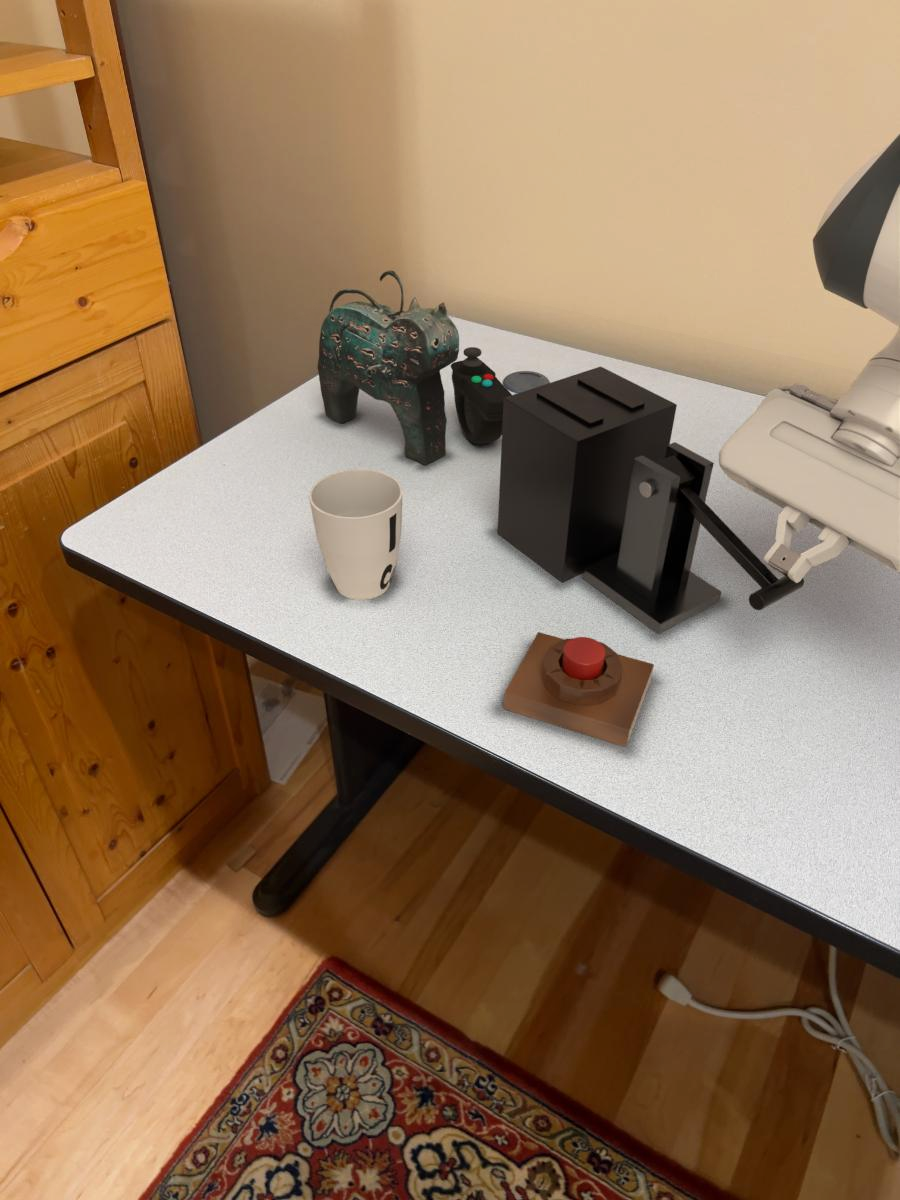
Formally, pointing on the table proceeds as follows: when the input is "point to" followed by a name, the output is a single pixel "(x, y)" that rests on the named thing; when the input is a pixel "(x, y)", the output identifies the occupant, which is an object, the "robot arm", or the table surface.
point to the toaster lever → (730, 541)
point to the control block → (579, 692)
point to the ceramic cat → (389, 366)
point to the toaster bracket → (658, 547)
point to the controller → (478, 398)
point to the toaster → (575, 465)
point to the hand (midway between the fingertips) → (779, 572)
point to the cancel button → (583, 658)
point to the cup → (358, 529)
